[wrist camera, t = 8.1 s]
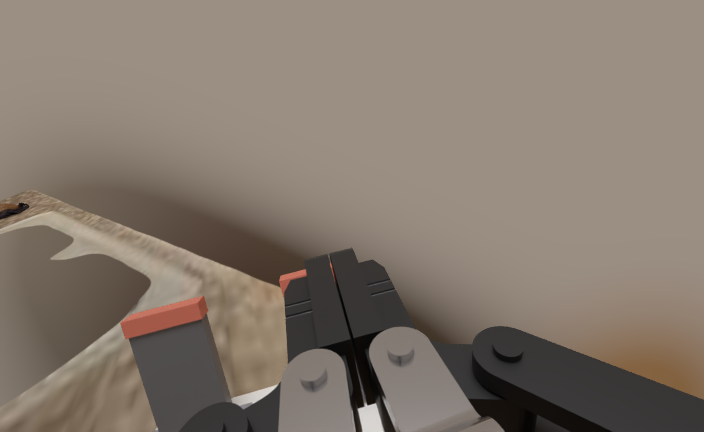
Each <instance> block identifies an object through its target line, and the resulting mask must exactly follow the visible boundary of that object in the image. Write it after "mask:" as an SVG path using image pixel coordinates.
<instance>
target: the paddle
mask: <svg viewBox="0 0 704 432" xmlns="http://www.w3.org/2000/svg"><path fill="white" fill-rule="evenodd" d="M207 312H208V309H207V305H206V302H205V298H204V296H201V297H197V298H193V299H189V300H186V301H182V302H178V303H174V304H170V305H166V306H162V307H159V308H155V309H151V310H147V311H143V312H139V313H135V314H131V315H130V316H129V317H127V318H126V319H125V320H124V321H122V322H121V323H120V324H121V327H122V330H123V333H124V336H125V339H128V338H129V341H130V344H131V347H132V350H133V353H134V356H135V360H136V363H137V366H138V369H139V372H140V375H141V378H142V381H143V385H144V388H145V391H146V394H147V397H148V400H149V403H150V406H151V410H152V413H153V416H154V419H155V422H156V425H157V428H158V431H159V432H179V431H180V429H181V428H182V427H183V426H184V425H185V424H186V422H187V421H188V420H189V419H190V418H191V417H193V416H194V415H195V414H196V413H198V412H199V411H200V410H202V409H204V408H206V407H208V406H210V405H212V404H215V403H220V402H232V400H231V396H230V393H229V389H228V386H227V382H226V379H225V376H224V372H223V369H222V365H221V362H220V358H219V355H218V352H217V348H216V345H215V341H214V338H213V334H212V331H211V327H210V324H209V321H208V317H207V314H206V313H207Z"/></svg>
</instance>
